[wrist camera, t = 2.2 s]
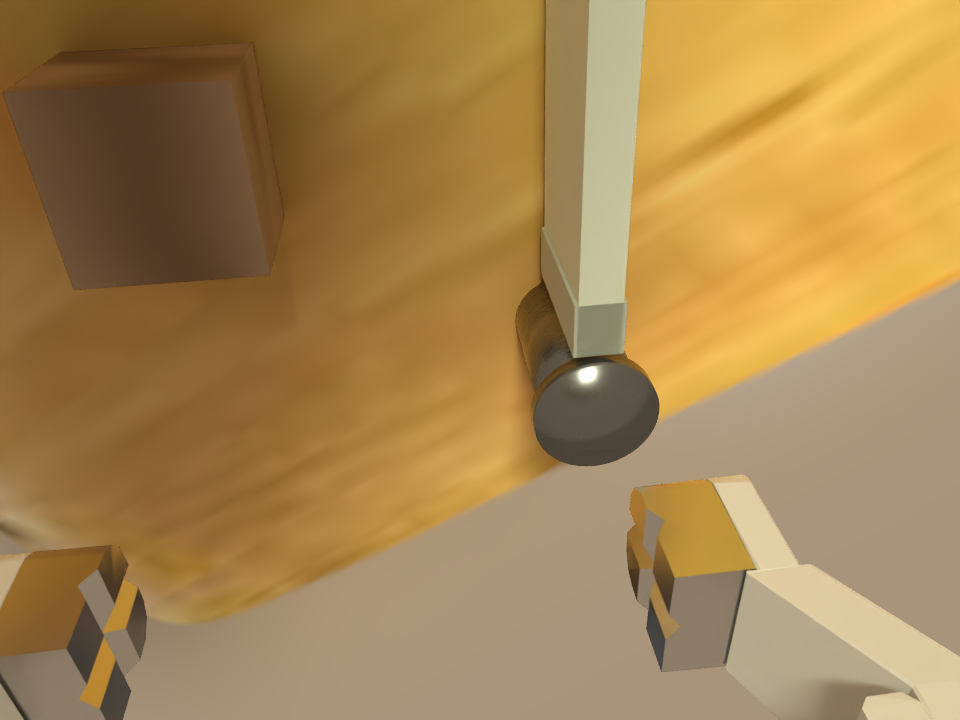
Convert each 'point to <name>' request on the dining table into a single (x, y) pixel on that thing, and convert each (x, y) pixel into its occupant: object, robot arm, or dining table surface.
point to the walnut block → (152, 163)
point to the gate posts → (582, 392)
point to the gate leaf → (590, 165)
